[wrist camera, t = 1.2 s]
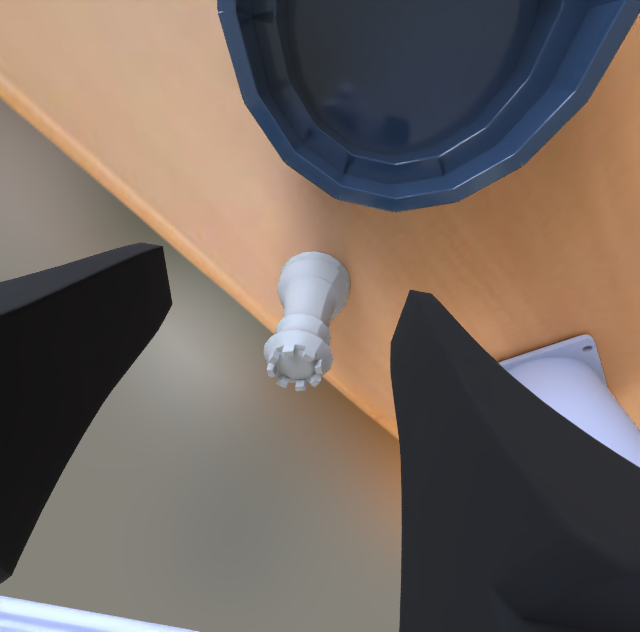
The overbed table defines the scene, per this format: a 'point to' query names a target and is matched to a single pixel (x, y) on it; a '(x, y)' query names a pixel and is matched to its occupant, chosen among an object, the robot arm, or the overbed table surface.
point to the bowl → (417, 87)
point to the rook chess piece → (306, 318)
